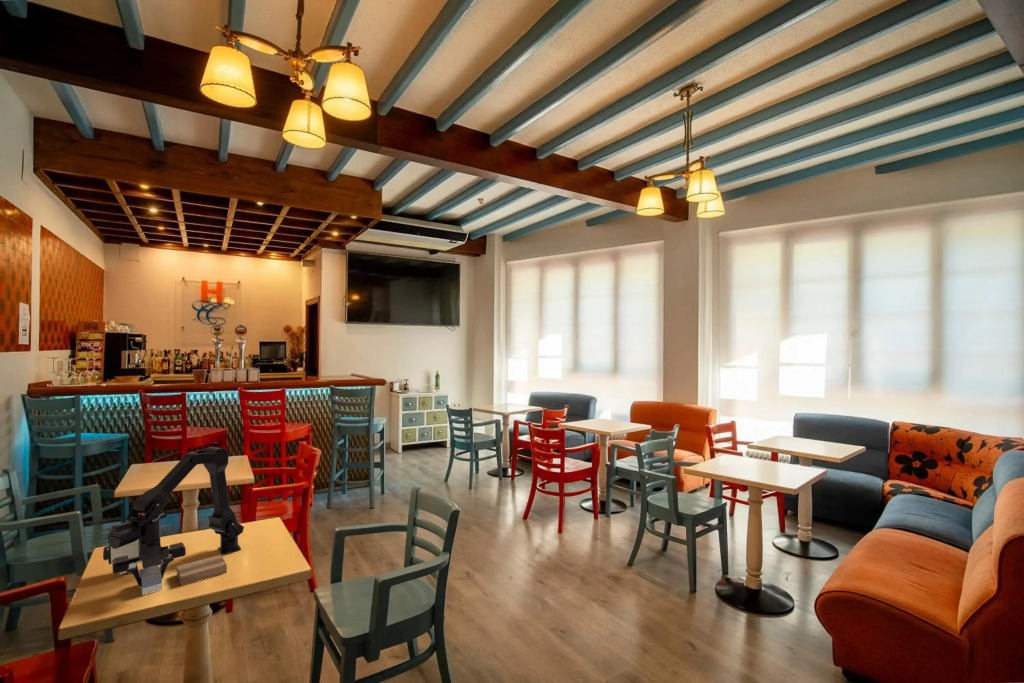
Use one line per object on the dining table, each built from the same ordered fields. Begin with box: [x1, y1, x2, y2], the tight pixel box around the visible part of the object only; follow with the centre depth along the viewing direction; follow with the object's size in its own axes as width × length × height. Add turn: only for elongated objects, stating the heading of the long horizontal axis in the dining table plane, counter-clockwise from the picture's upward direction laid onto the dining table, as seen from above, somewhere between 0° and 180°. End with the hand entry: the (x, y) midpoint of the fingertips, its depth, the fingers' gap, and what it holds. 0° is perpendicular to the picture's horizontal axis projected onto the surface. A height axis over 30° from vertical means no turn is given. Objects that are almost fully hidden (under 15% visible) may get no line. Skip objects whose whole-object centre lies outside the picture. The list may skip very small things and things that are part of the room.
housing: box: [138, 565, 163, 595], centre depth 160 cm, size 9×5×5 cm, turn 42°
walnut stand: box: [176, 554, 228, 586], centre depth 168 cm, size 9×13×3 cm
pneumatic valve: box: [102, 540, 139, 575], centre depth 169 cm, size 6×12×12 cm, turn 120°
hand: (150, 583), depth 160 cm, fingers open, 5 cm apart
